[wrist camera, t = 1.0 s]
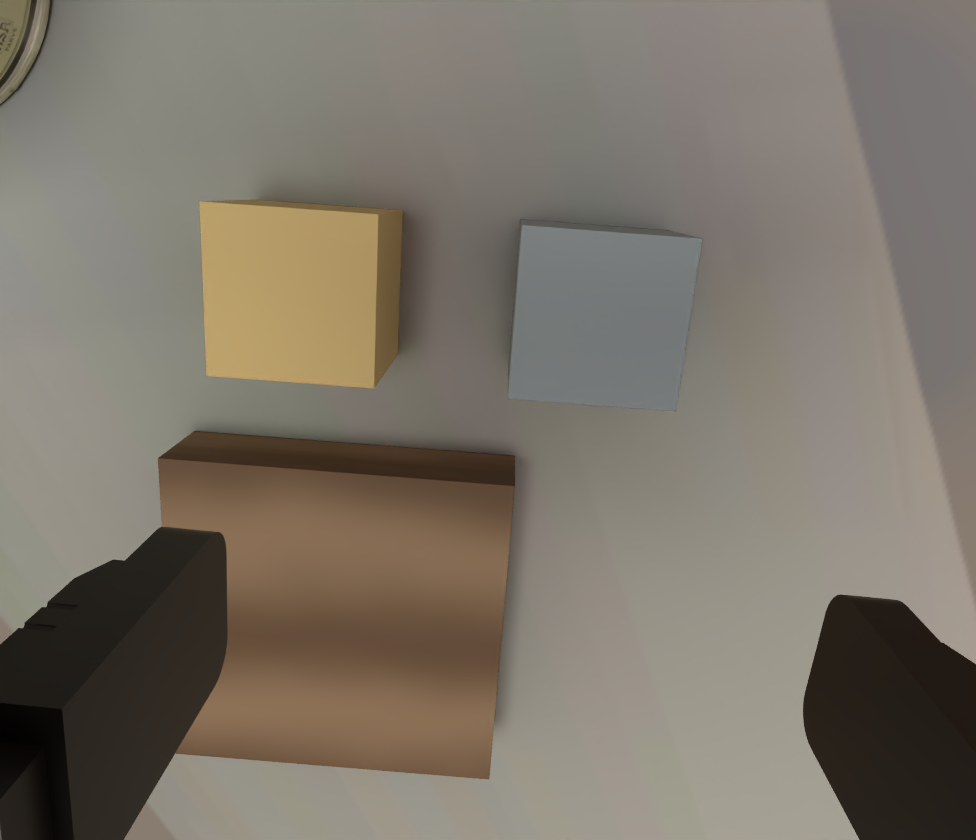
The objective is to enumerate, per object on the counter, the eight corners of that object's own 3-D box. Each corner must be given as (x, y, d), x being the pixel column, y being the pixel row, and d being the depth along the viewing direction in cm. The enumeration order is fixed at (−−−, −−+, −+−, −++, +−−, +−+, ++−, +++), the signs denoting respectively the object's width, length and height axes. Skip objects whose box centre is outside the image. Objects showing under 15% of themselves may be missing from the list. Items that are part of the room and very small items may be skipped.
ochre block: (257, 199, 26) (199, 201, 21) (403, 210, 26) (378, 214, 21) (260, 343, 27) (206, 375, 22) (398, 354, 27) (373, 388, 22)
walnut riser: (194, 431, 28) (158, 458, 25) (514, 456, 28) (514, 486, 25) (206, 702, 32) (175, 753, 29) (491, 725, 32) (489, 779, 29)
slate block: (520, 218, 26) (521, 225, 21) (666, 230, 26) (701, 238, 21) (508, 362, 27) (507, 398, 22) (647, 372, 27) (676, 411, 22)
